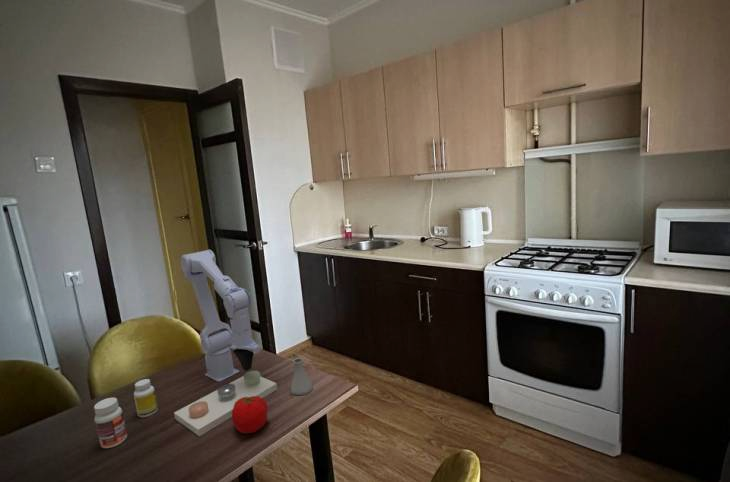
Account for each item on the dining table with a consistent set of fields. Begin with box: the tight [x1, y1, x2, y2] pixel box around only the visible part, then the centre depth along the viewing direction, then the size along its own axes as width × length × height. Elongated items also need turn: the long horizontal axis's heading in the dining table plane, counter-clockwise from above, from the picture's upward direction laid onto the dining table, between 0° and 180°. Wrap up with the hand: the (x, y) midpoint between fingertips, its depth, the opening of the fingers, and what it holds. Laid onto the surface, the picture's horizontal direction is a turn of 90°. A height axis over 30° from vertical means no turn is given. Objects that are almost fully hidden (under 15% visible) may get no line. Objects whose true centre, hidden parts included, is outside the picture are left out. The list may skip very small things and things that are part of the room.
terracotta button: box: [189, 401, 208, 418], centre depth 108 cm, size 5×5×2 cm
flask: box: [290, 357, 313, 396], centre depth 118 cm, size 7×7×10 cm
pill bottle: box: [93, 397, 128, 449], centre depth 101 cm, size 6×6×11 cm
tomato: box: [231, 396, 269, 434], centre depth 102 cm, size 9×10×8 cm
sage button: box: [243, 370, 261, 384], centre depth 121 cm, size 5×5×2 cm
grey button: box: [216, 383, 236, 398], centre depth 114 cm, size 5×5×2 cm
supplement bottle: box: [133, 378, 159, 418], centre depth 113 cm, size 5×5×10 cm
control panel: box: [173, 375, 278, 437], centre depth 115 cm, size 14×26×2 cm, turn 141°
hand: (247, 369), depth 120 cm, fingers closed
